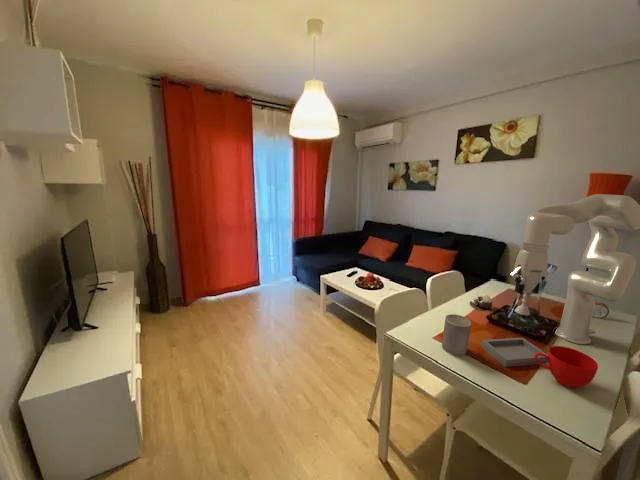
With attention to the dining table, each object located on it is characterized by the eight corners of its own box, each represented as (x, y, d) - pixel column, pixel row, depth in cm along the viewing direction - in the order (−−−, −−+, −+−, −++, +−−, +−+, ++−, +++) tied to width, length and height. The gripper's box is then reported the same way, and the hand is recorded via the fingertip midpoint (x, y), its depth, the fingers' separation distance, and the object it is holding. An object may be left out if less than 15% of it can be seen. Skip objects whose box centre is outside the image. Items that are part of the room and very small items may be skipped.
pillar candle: (447, 339, 122) (450, 309, 119) (470, 349, 115) (475, 317, 112) (438, 349, 116) (441, 317, 112) (462, 359, 109) (466, 326, 105)
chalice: (537, 317, 104) (546, 273, 100) (517, 315, 105) (525, 271, 101) (527, 308, 111) (535, 266, 107) (508, 307, 112) (516, 265, 108)
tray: (521, 343, 120) (522, 337, 119) (548, 363, 107) (550, 356, 106) (481, 346, 117) (482, 340, 117) (504, 366, 105) (506, 359, 104)
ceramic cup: (525, 362, 107) (530, 340, 105) (580, 374, 101) (586, 350, 99) (536, 385, 96) (542, 360, 94) (599, 400, 89) (607, 374, 87)
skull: (463, 302, 157) (473, 288, 158) (471, 311, 161) (481, 297, 162) (482, 310, 146) (493, 295, 147) (490, 320, 150) (501, 305, 151)
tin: (605, 318, 143) (609, 303, 141) (607, 320, 140) (612, 305, 138) (568, 310, 151) (571, 296, 149) (569, 312, 148) (572, 298, 146)
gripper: (546, 245, 107) (537, 288, 111) (506, 245, 105) (498, 289, 109) (565, 250, 100) (554, 295, 104) (522, 251, 97) (513, 297, 102)
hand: (526, 292), depth 106 cm, fingers closed on chalice, 5 cm apart
